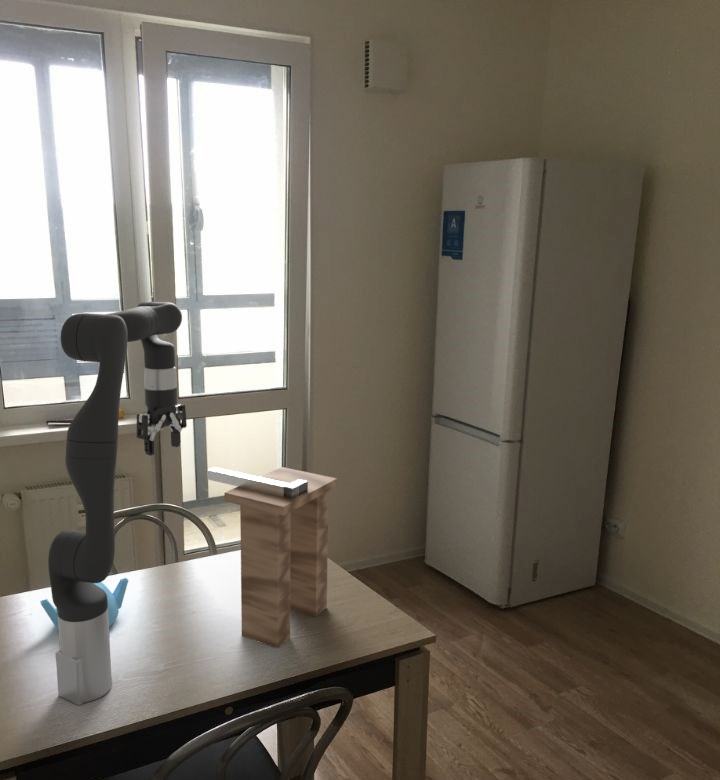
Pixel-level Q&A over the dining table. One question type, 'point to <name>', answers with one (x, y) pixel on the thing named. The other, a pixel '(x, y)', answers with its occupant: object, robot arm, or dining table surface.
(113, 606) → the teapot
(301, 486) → the crook tool
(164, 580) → the dining table surface
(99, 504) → the robot arm
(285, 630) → the shelf
